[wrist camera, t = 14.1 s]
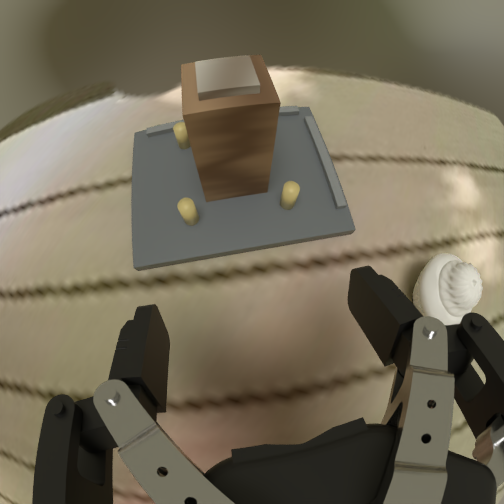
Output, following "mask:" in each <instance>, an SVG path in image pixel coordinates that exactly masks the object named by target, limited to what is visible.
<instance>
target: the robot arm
mask: <svg viewBox="0 0 504 504" xmlns="http://www.w3.org/2000/svg"><path fill="white" fill-rule="evenodd" d="M348 306H349V309H350V311H351V313H352V315H353V316H354V318H355V319H356V321H357V322H358V324H359V326H360V327H361V329H362V330H363V332H364V333H365V335H366V337H367V338H368V340H369V341H370V343H371V345H372V346H373V348H374V350H375V351H376V353H377V355H378V356H379V358H380V359H381V361H382V363H383V364H384V366H388V365H390V364H393V363H395V365H396V366H397V368H396V370H395V374H394V379H393V384H392V389H391V393H390V398H389V402H388V406H387V410H386V412H385V415H384V417H383V419H382V422H381V424H366V423H365V421H364V419H363V417H362V418H359V419H357V420H354V421H351V422H348V423H345V424H342V425H339V426H336V427H333V428H331V429H330V430H328V431H326V432H324V433H322V434H321V435H319V436H317V437H315V438H313V439H311V440H310V441H308V442H306V443H303V444H298V445H270V444H264V445H259V446H253V447H246V448H240V449H232V450H231V451H232V457H230V458H228V459H225V460H223V461H221V462H219V463H218V464H216V465H215V466H213V467H212V468H211V469H209V470H208V471H207V472H206V473H204V472H203V471H202V470H201V469H200V468H199V467H198V466H197V465H196V464H195V463H194V462H193V461H192V460H191V459H190V458H189V457H188V456H187V455H186V454H185V453H184V452H183V451H182V450H181V449H180V448H179V447H178V446H177V445H176V444H175V443H174V441H173V440H172V439H171V438H170V437H169V436H168V435H167V434H166V432H165V431H164V430H163V429H162V428H161V427H160V425H159V424H158V423H157V422H156V418H157V413H161V412H166V400H167V379H168V363H169V350H170V340H169V335H168V332H167V329H166V327H165V324H164V322H163V319H162V317H161V315H160V312H159V310H158V307H157V306H156V305H155V304H153V305H146V306H139V307H137V309H136V312H135V316H134V320H128V321H127V322H126V324H125V325H124V326H123V328H122V329H121V331H120V335H119V338H118V342H117V346H116V350H115V354H114V358H113V362H112V366H111V370H110V375H109V379H108V381H106V382H104V383H102V384H101V385H100V386H99V387H98V388H97V389H96V391H95V393H94V396H93V397H90V398H87V399H83V400H80V401H77V402H74V401H73V399H72V398H71V397H69V396H68V395H64V394H61V395H57V396H55V397H53V398H52V399H51V400H50V401H49V403H48V404H47V406H46V409H45V414H44V418H43V423H42V428H41V433H40V438H39V444H38V450H37V457H36V465H35V474H34V485H33V504H113V486H112V461H113V448H116V447H119V448H120V449H119V450H118V453H119V455H120V457H121V459H122V460H123V462H124V463H125V464H126V466H127V467H128V469H129V470H130V472H131V473H132V474H133V476H134V477H135V478H136V480H137V481H138V482H139V484H140V485H141V486H142V488H143V489H144V490H145V491H146V493H147V494H148V495H149V496H150V497H151V499H152V500H153V501H154V502H155V503H156V504H495V502H496V491H497V487H498V486H500V485H501V484H502V483H503V482H504V341H503V339H502V338H501V337H500V336H499V334H498V333H497V332H496V331H495V329H494V328H493V327H492V326H491V325H490V323H489V322H488V321H487V320H486V319H485V318H484V317H483V316H481V315H480V314H477V313H467V314H465V315H464V316H463V318H462V320H461V322H460V324H454V325H444V324H443V323H442V322H441V321H440V320H439V319H437V318H434V317H430V316H423V315H422V314H421V313H420V312H419V310H418V309H417V308H416V307H415V306H414V305H413V304H412V302H411V301H410V300H409V299H408V298H407V297H406V296H405V295H404V293H403V292H402V291H401V290H400V289H398V287H397V286H396V285H395V283H394V282H393V281H392V280H390V279H388V278H387V277H385V276H383V275H378V274H377V273H376V272H375V271H374V270H373V269H372V267H370V266H364V267H360V268H355V269H352V271H351V274H350V283H349V291H348ZM473 359H475V360H476V362H477V363H478V365H479V366H480V368H481V369H482V371H483V372H484V374H485V377H486V383H485V385H484V383H483V382H482V380H481V379H480V377H479V375H478V374H477V372H476V371H475V369H474V368H473V366H472V365H471V362H472V361H473ZM454 399H455V400H456V402H457V404H458V406H459V408H460V409H461V411H462V413H463V415H464V417H465V419H466V421H467V423H468V425H469V427H470V428H471V430H472V432H473V434H474V436H475V439H476V442H475V449H474V450H473V452H472V455H473V458H474V459H477V461H476V460H473V459H470V458H467V457H464V456H462V455H459V454H456V453H454V452H451V451H449V450H448V448H449V441H450V434H451V426H452V416H453V404H454Z"/></svg>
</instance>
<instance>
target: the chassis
mask: <svg viewBox="0 0 504 504" xmlns="http://www.w3.org/2000/svg"><path fill="white" fill-rule="evenodd" d="M355 230H356V229H355V226H354V223H353V220H352V217H351V214H350V210H349V207H348V204H347V201H346V198H345V196H344V193H343V190H342V187H341V184H340V181H339V179H338V176H337V173H336V171H335V168H334V165H333V163H332V160H331V158H330V155H329V152H328V150H327V147H326V145H325V143H324V140H323V138H322V135H321V133H320V131H319V128H318V126H317V124H316V121H315V119H314V117H313V115H312V112H311V110H310V108H309V107H297V106H286V107H280V110H279V117H278V123H277V130H276V137H275V144H274V151H273V158H272V165H271V172H270V178H269V185H268V192H267V193H260V194H254V195H247V196H241V197H234V198H228V199H222V200H216V201H211V202H206V199H205V196H204V192H203V189H202V185H201V182H200V178H199V174H198V171H197V167H196V164H195V160H194V156H193V153H192V149H191V145H190V141H189V138H188V134H187V130H186V126H185V122H184V120H180V121H176V122H171V123H166V124H162V125H158V126H154V127H150V128H147V130H143V131H140V132H136V133H135V135H134V148H133V166H132V246H133V264H134V268H135V269H136V270H138V271H139V270H145V269H151V268H157V267H162V266H168V265H174V264H180V263H185V262H191V261H197V260H203V259H208V258H214V257H220V256H226V255H232V254H237V253H243V252H249V251H255V250H261V249H266V248H272V247H278V246H284V245H290V244H295V243H301V242H307V241H313V240H319V239H324V238H330V237H336V236H342V235H348V234H352V233H353V232H354V231H355Z"/></svg>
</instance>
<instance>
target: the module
mask: <svg viewBox="0 0 504 504" xmlns="http://www.w3.org/2000/svg"><path fill="white" fill-rule="evenodd" d="M181 82H182V112H183V119H184V122H185V126H186V130H187V134H188V138H189V141H190V145H191V149H192V153H193V156H194V160H195V164H196V167H197V171H198V174H199V178H200V182H201V185H202V189H203V192H204V196H205V199H206V202H211V201H216V200H222V199H228V198H234V197H241V196H247V195H254V194H260V193H267V192H268V185H269V178H270V172H271V165H272V158H273V151H274V144H275V137H276V130H277V123H278V117H279V110H280V100H279V97H278V95H277V92H276V90H275V87H274V85H273V82H272V80H271V77H270V75H269V73H268V70H267V68H266V66H265V63H264V61H263V59H262V56H261V55H246V56H236V57H226V58H217V59H211V60H204V61H198V62H194V63H188V64H183V65H181Z"/></svg>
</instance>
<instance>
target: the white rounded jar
mask: <svg viewBox="0 0 504 504" xmlns="http://www.w3.org/2000/svg"><path fill="white" fill-rule="evenodd" d="M481 283H482V280H481V279H480V273H478V272H477V268H475V267H473V265H472V264H471V263H469V264H467V263H466V262H463V261H462V260H461V259H460V258H458V257H457V256H455V255H453V254H449V253H441V254H438V255H435V256H434V257H433V258H431V259H430V261H429V262H428V263H427V264H426V266H425V267H424V269H423V270H422V271H421V273H420V275H419V277H418V279H417V282H416V284H415V287H414V290H413V294H412V295H413V298H412V299H413V303H414V305H415V307H416V308H417V309H418V310H419V312H420V313H421V314H422V315H423V316H430V317H434V318H437V319H439V320H440V321H441V322H442V323H443V324H444V325H454V324H460V322H461V320H462V318H463V316H464V315H465V314H467V313H470V312H471V310H472V307H474V306H476V304H477V303H478V301H479V299H480V298H481V292H482V289H483V288H482V285H481Z"/></svg>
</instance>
